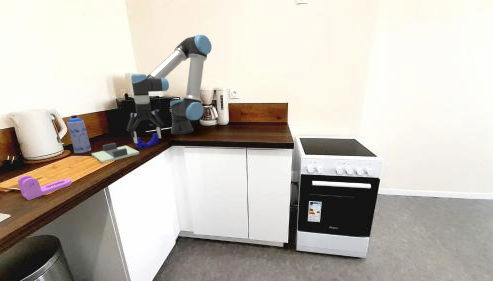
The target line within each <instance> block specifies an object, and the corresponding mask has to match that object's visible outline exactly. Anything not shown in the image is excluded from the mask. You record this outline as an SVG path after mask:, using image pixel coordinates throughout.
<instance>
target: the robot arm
mask: <svg viewBox="0 0 493 281" xmlns="http://www.w3.org/2000/svg"><path fill="white" fill-rule="evenodd" d="M212 46H213V45H212V43H211V41H210V39H209V37H207V36H206V35H205V34H196V35H193V36H190V37H186V38H185V39H183V40H182V41H181V42H180V43H179V44H177V46H176V47H174V50H173V52H172V53H171V54H170V55H168V56H167V57H166V58H165V59H164V60H163V61H161V63H160V64H158V66H156V67H155V69H153V70H152V71H151V72H150V73H149V74H148V75H146V73H145V74H144V73H132V74H131V76H130V77H131V78H130V80H131V86H132V87H131V88H132V91H133V98H134V103H135V104H134V106H135V112H136V113H133V112H131V113H130V118H129V120H128V123H127V126H126V131H127V132H130V135H131V136H130V137H132V139H133V143H134V144H136V143H137V132H136V131H135V130H136V129H137V127H138V125H139V124H140V122H142V121H146V120H147V121H148V120H150V121H151V122H152V123H153V124H154V125H155V126H156V134H158V139H162V135H161V133H162V127H163V126H164V125H165V124H164V122H163V121H162V118H160V116H159V114H158V111H157V110H153V111H152V108H151V103H150V102H151V101H150V100H151V99H150V93H149V92H151V93H152V92H153V93H154V92H155V93H156V92H167V91H168V90H169V89H170V88H169V87H170V83H169V80H168V79H167V78H166V77H167V76H168V75H170V74H171V73H172V72H173V71H174V70H175V69H176V68H177V67H178V66H179V65H180V64H181V63H182V62H184V61H187V60H188V59H189V58H190V61H189V70H188V78H187V85H186V94H185V96H184V97H183V99H182V98H181V99H176V100H171V101H170V103H169V105H170V113H171V119H172V120H171V122H172V125H171V129H170V130H171V131H170V132H171V135H175V136H176V135H188V134H191V133H193V132H194V128H193V126H192V124H191V121H196V120H200V118H202V117H203V115H204V112H205V111H204V110H205V108H204V106H203V104H202V100H201V98H200V96H201V89H202V88H201V87H202V81H203V71H204V64H205V61H207V59H208V58H207V57H208V55H209V54H210V53H211V51H212ZM152 115H153V116H154V117H155V118H154V117H153V116H152ZM135 118H136V120H135ZM134 121H135V122H134Z"/></svg>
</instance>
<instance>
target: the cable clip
mask: <svg viewBox="0 0 493 281" xmlns="http://www.w3.org/2000/svg"><path fill="white" fill-rule="evenodd" d="M159 143H160V140H159V138H158V134H157V132H156V133H152V136H151V139H150V140H149V141H148V142H143V141H142V140H141V138H140V137H137V143H135V146H136V148H137V149H139V150H140V149H141V150H142V149H146V148H149V147H151V146H154V145H157V144H159Z"/></svg>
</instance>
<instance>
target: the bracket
mask: <svg viewBox="0 0 493 281" xmlns="http://www.w3.org/2000/svg"><path fill="white" fill-rule="evenodd" d="M72 183H73V182H72V179H71V178H65V179H59V180H56V181H53V182H50V183H47V184H45V185H40V182H39V180H38V179H37V178H34V177H33V176H31V175H27V174H26V175H23V176H20V177H19V178H18V180H17V184H18V186H19V189H20V193H21V196H22V197H23V198H25V199H26V200H27V201H31V200H33V199H36V198H39V197H42V196H44V195H47V194H50V193H53V192H55V191H57V190H60V189H63V188H66V187H68V186H71V185H72ZM54 185H55V186H54ZM51 186H52V187H51Z"/></svg>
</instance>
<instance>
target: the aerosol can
mask: <svg viewBox="0 0 493 281" xmlns="http://www.w3.org/2000/svg"><path fill="white" fill-rule="evenodd" d="M66 125H67V128H68V131H69V136H70V140H71V144H72V147H73V152H74V153H75V154H82V153H86V152H90V151H91V150H92V147H91V143H90V140H89V137H88V131H87V128H86V125H85V121H84V119H82V118H80V117H78V116H77V115H74V114H73V115H71V118H69V119H68V121H67V122H66Z"/></svg>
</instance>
